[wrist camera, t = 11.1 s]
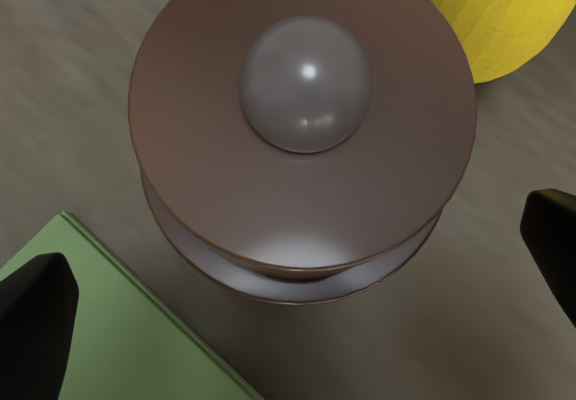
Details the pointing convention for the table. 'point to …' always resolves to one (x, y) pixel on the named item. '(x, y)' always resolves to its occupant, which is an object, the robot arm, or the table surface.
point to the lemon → (503, 31)
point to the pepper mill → (300, 139)
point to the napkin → (127, 330)
